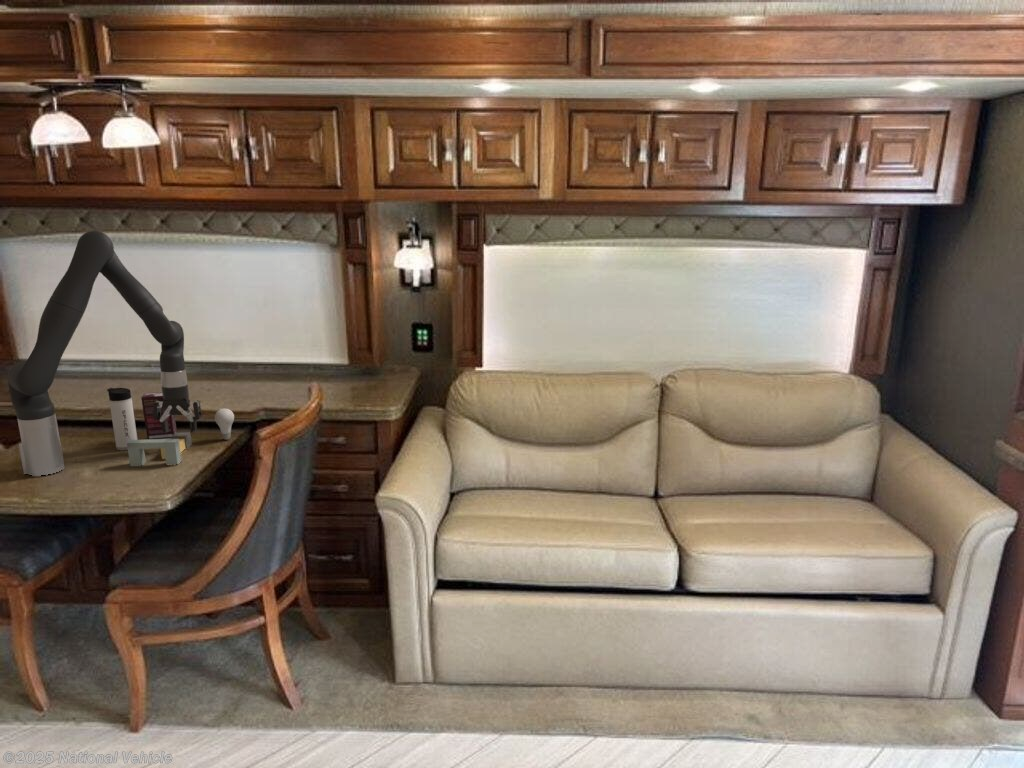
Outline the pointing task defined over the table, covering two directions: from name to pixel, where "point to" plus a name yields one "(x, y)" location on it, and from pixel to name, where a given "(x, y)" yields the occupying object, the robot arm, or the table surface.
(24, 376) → the robot arm
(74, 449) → the table surface
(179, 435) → the plug
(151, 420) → the supplement box
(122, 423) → the travel mug
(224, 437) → the lightbulb
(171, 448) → the grey-blue bridge block
